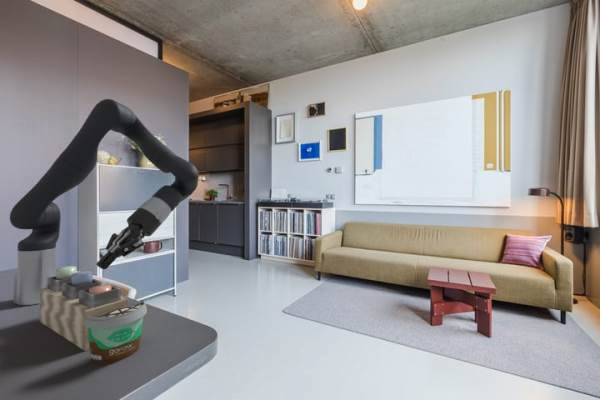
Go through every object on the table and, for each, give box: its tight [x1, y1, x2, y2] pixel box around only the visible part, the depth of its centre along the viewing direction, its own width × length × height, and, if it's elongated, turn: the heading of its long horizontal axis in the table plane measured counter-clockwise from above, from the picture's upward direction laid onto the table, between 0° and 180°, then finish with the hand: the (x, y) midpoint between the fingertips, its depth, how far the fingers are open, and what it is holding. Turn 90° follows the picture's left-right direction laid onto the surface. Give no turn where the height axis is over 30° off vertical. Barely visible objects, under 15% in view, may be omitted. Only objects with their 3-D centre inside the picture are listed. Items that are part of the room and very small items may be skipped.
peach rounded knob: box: [89, 284, 111, 294], centre depth 67 cm, size 4×4×3 cm
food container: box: [84, 299, 148, 364], centre depth 60 cm, size 12×6×10 cm, turn 148°
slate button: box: [71, 270, 94, 287], centre depth 73 cm, size 4×4×3 cm
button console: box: [39, 275, 129, 352], centre depth 73 cm, size 28×9×12 cm, turn 59°
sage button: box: [55, 265, 78, 281], centre depth 78 cm, size 4×4×3 cm
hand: (100, 267), depth 67 cm, fingers closed
